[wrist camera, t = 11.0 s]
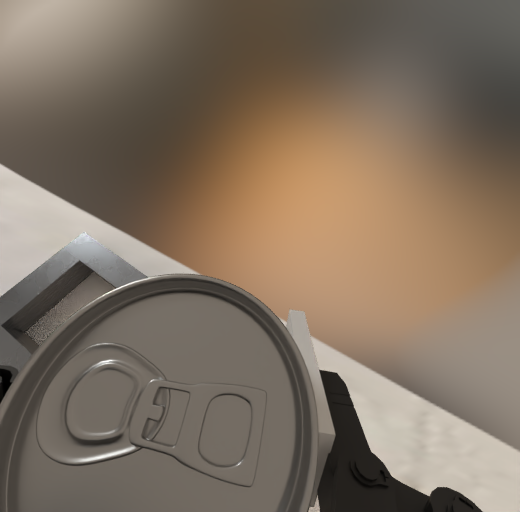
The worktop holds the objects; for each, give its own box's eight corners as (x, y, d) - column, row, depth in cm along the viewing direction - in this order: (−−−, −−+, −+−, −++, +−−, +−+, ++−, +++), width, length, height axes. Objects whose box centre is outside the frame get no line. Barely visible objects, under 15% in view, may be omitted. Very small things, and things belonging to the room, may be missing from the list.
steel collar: (-18, 339, 22) (-47, 333, 20) (96, 244, 27) (83, 231, 25) (74, 428, 19) (53, 433, 17) (180, 304, 24) (174, 296, 22)
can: (182, 335, 16) (83, 233, 6) (277, 355, 16) (346, 286, 6) (141, 456, 13) (-221, 688, 3) (259, 483, 13) (339, 837, 3)
